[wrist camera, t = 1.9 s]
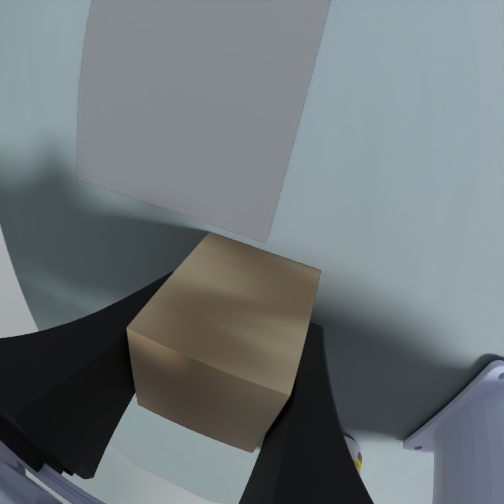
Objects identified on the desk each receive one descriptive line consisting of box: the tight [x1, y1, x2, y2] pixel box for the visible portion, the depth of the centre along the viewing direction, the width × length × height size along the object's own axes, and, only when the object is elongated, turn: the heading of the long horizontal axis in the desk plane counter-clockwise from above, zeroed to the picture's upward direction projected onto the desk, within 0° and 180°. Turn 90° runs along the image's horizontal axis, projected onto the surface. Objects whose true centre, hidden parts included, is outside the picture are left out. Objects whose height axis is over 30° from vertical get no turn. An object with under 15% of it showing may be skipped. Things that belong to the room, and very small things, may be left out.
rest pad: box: [77, 0, 331, 243], centre depth 9 cm, size 8×8×1 cm
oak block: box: [127, 232, 321, 453], centre depth 10 cm, size 4×4×5 cm
